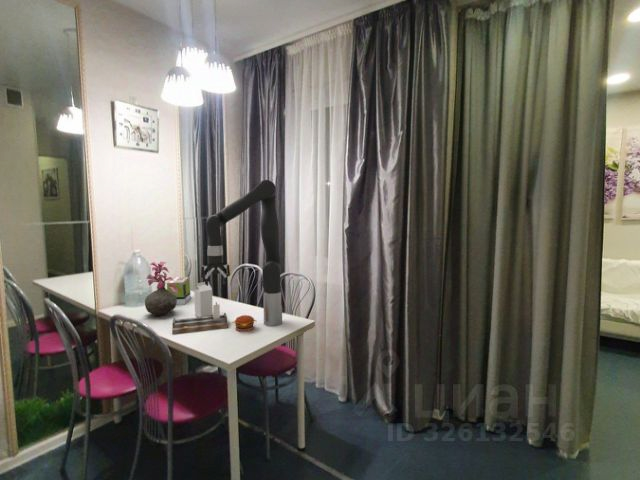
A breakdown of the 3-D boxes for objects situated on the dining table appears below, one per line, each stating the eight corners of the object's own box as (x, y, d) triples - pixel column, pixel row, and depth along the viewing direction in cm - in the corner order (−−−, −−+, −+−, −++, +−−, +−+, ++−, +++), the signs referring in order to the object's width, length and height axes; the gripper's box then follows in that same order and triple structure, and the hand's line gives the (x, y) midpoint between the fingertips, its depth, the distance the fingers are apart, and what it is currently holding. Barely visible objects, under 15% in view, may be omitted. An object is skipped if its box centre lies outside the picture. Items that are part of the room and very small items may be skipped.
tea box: (175, 298, 219) (174, 276, 217) (191, 298, 220) (190, 276, 218) (167, 305, 204) (166, 282, 202) (184, 305, 205) (183, 281, 204)
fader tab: (219, 318, 176) (218, 301, 175) (219, 321, 172) (219, 304, 171) (213, 319, 175) (213, 302, 174) (213, 322, 171) (213, 304, 170)
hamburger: (231, 330, 166) (231, 317, 165) (244, 324, 174) (244, 312, 174) (244, 333, 161) (244, 320, 160) (258, 327, 169) (258, 315, 169)
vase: (148, 311, 193) (146, 260, 190) (180, 308, 198) (178, 259, 195) (142, 320, 177) (140, 265, 174) (177, 317, 183) (175, 264, 179)
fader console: (225, 318, 182) (225, 310, 181) (227, 327, 169) (227, 319, 168) (174, 324, 173) (173, 315, 172) (172, 334, 160) (171, 325, 159)
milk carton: (212, 315, 187) (212, 282, 185) (201, 318, 182) (200, 284, 180) (206, 312, 192) (205, 280, 190) (194, 315, 187) (193, 282, 185)
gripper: (228, 252, 175) (229, 282, 177) (200, 253, 170) (201, 284, 172) (230, 254, 168) (230, 285, 170) (200, 255, 163) (201, 287, 165)
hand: (215, 284), depth 171 cm, fingers open, 8 cm apart
